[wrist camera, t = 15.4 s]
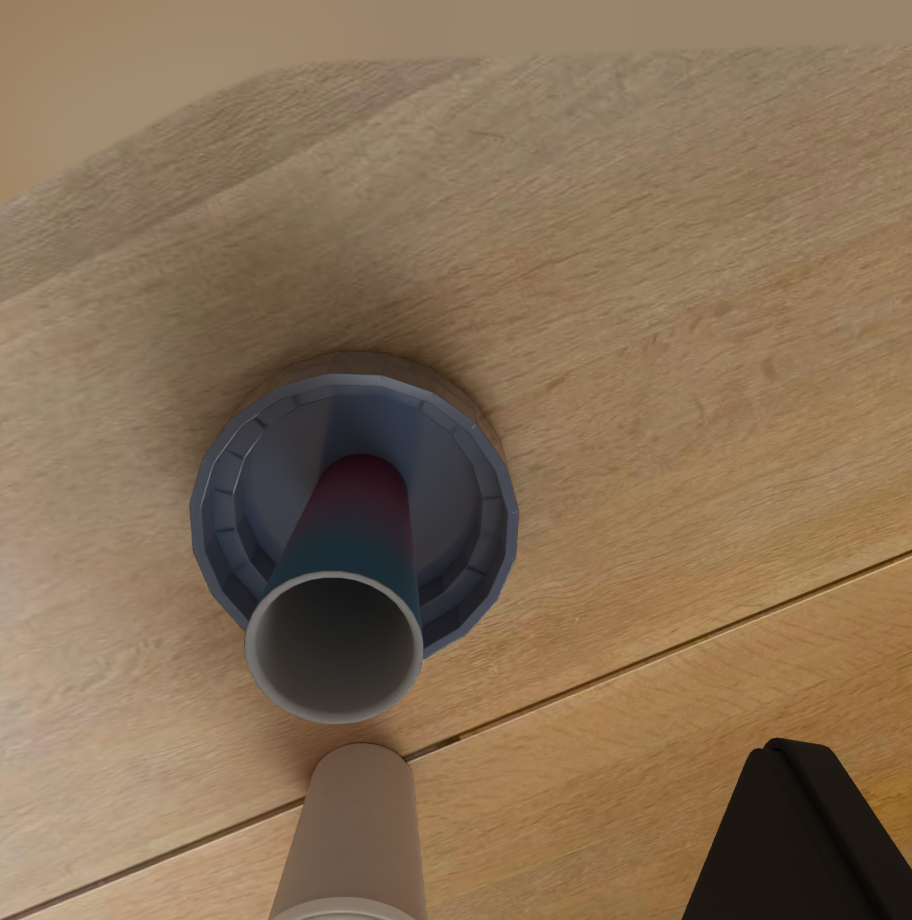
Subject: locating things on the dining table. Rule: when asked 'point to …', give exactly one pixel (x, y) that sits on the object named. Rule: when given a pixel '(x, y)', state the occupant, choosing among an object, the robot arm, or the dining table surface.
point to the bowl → (347, 433)
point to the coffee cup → (355, 842)
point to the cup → (342, 601)
